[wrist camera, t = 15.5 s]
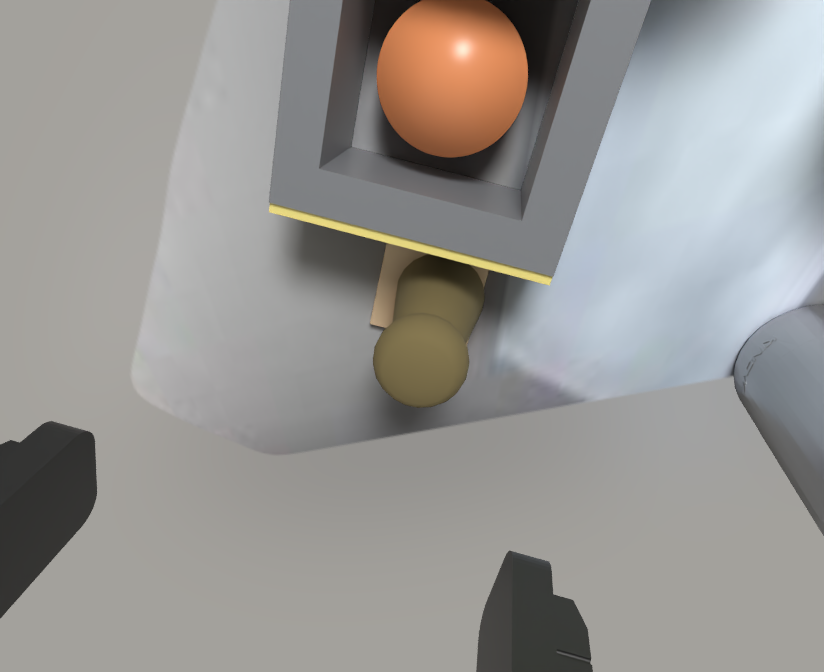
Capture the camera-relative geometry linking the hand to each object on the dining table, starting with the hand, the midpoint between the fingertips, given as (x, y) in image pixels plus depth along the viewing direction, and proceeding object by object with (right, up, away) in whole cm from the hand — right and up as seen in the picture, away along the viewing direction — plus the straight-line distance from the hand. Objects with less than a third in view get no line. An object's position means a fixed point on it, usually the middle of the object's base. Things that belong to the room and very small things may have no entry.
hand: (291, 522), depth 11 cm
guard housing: (+5, +19, +24) cm, 31 cm away
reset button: (+5, +18, +23) cm, 30 cm away
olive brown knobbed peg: (+4, +6, +30) cm, 31 cm away
